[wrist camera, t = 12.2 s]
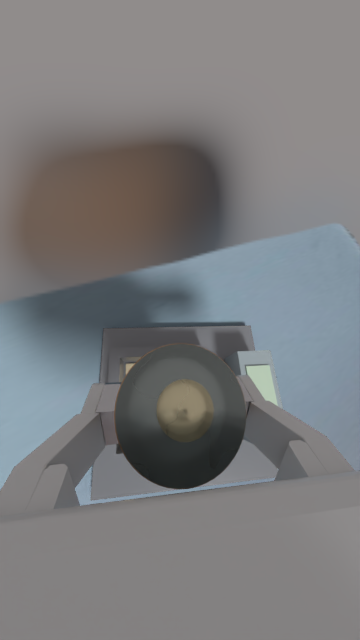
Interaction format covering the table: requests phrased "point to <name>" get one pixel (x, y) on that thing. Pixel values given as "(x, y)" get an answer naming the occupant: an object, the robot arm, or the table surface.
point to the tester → (225, 341)
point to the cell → (180, 416)
